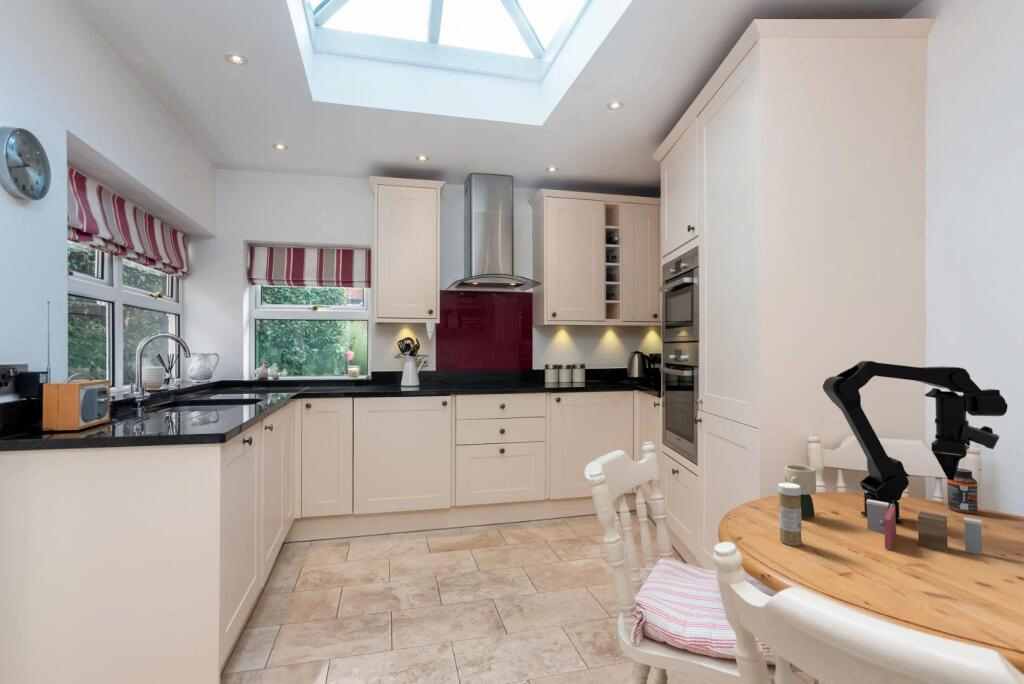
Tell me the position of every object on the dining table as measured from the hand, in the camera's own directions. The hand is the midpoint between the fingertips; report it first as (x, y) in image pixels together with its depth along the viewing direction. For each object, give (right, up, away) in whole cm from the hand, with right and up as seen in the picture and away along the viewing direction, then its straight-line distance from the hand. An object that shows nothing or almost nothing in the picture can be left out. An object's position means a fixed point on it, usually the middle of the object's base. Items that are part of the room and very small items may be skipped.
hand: (952, 476), depth 118 cm
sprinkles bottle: (-48, -13, -11) cm, 51 cm away
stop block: (-18, -12, -14) cm, 26 cm away
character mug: (-35, -13, +6) cm, 38 cm away
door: (-26, -12, -11) cm, 30 cm away
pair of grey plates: (-17, -12, -11) cm, 24 cm away
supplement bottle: (+11, -12, +9) cm, 19 cm away
